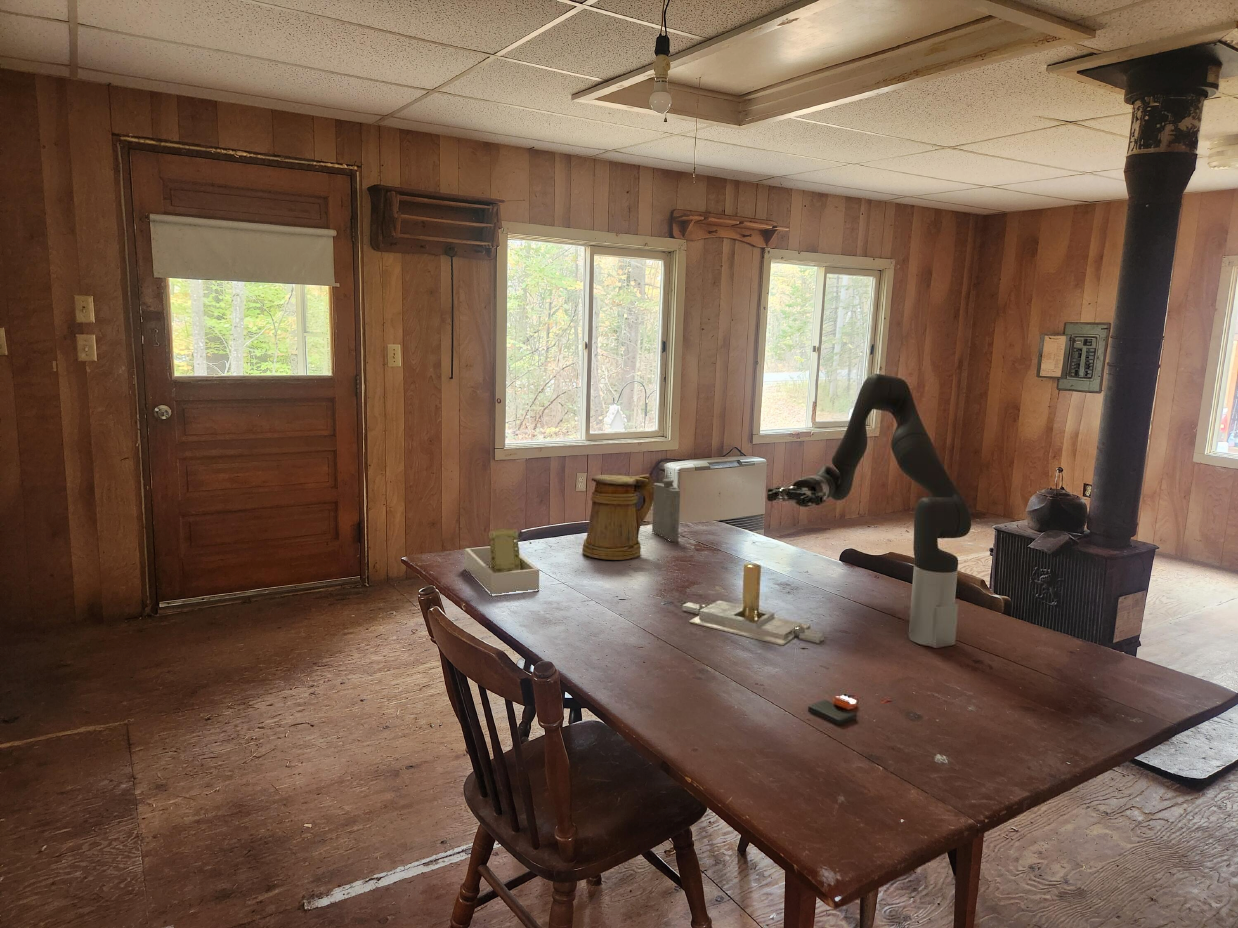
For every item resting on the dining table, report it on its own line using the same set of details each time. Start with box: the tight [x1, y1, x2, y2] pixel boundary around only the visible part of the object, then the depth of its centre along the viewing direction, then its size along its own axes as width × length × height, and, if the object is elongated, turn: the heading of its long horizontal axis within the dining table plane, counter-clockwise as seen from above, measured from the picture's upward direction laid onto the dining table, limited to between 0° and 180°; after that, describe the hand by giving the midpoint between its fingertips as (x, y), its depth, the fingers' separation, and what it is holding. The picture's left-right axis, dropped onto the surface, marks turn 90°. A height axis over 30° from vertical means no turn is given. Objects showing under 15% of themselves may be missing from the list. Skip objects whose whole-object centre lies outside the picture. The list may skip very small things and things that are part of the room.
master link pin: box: [741, 562, 762, 621], centre depth 192 cm, size 4×4×14 cm
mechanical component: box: [488, 528, 521, 573], centre depth 222 cm, size 8×17×20 cm, turn 8°
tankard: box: [581, 473, 654, 561], centre depth 254 cm, size 18×24×25 cm
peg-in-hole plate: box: [682, 600, 825, 647], centre depth 192 cm, size 36×16×2 cm, turn 55°
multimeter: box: [807, 693, 892, 727], centre depth 151 cm, size 18×12×3 cm, turn 122°
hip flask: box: [651, 478, 681, 542], centre depth 278 cm, size 16×4×20 cm, turn 24°
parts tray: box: [464, 546, 540, 595], centre depth 224 cm, size 28×13×6 cm, turn 25°
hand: (785, 499), depth 202 cm, fingers open, 8 cm apart
